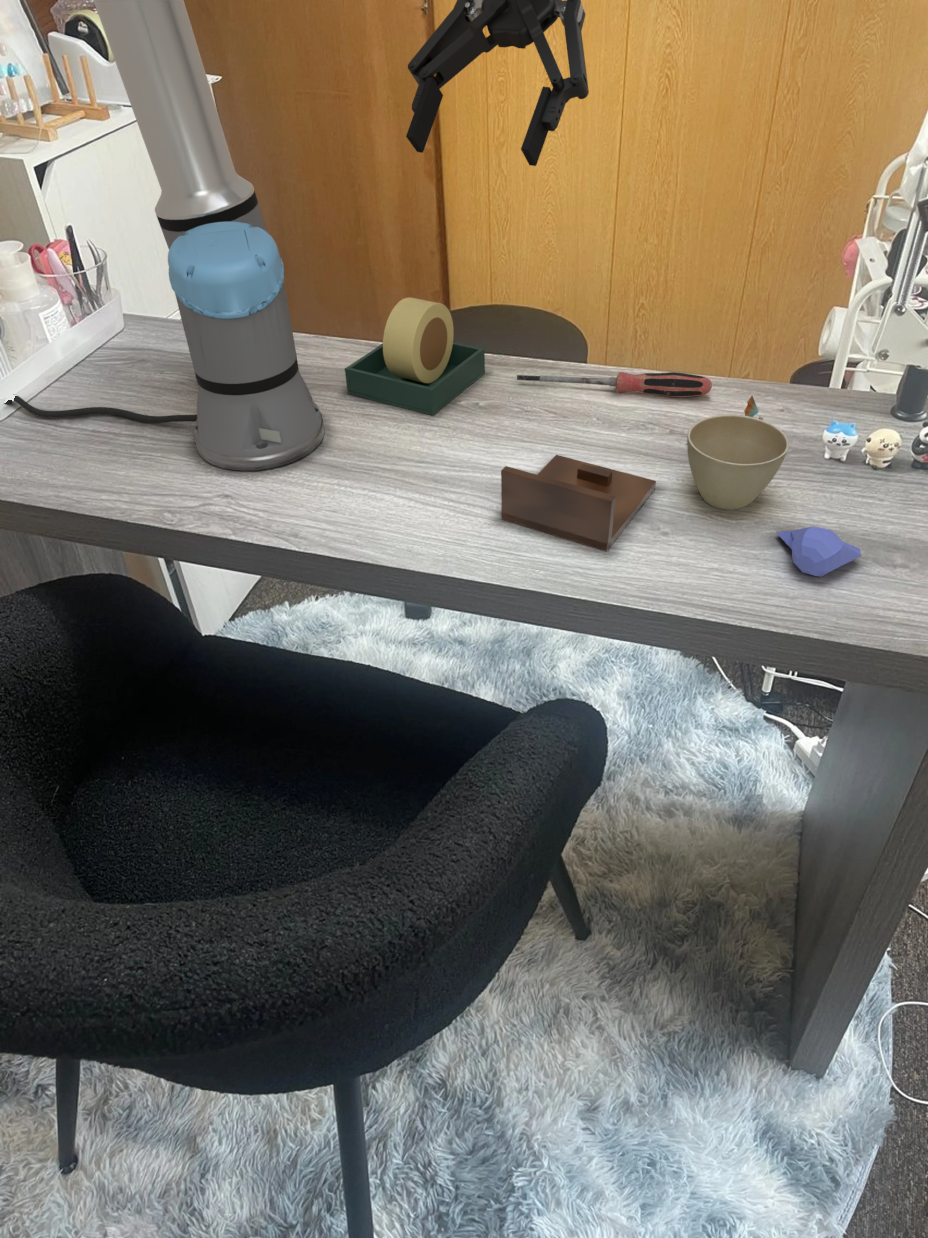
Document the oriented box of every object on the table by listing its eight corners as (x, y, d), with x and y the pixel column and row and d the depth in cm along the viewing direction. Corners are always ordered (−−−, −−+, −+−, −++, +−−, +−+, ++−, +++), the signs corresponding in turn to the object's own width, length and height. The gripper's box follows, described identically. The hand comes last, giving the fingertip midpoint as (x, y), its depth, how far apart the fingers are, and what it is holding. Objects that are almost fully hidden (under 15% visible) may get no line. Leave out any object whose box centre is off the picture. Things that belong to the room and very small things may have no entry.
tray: (347, 393, 116) (344, 368, 113) (403, 354, 124) (401, 330, 122) (433, 415, 110) (431, 389, 108) (485, 373, 119) (484, 348, 117)
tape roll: (381, 384, 114) (382, 304, 109) (423, 367, 122) (426, 291, 116) (411, 391, 112) (413, 310, 107) (452, 373, 120) (456, 296, 114)
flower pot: (666, 510, 93) (674, 450, 88) (694, 464, 100) (703, 406, 95) (762, 533, 89) (776, 472, 85) (784, 484, 96) (798, 425, 91)
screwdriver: (514, 372, 114) (518, 361, 116) (514, 393, 116) (519, 381, 118) (712, 381, 108) (713, 369, 110) (710, 403, 110) (710, 390, 112)
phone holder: (501, 519, 93) (500, 470, 89) (555, 461, 101) (557, 414, 97) (607, 551, 88) (611, 500, 84) (655, 488, 96) (661, 439, 92)
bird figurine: (842, 593, 81) (875, 555, 84) (818, 539, 79) (852, 503, 82) (770, 596, 88) (803, 561, 91) (746, 547, 86) (780, 513, 89)
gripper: (660, -14, 89) (590, 185, 90) (449, -20, 99) (386, 160, 100) (646, -77, 83) (569, 139, 83) (421, -76, 93) (353, 117, 93)
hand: (469, 151), depth 91 cm, fingers open, 13 cm apart
